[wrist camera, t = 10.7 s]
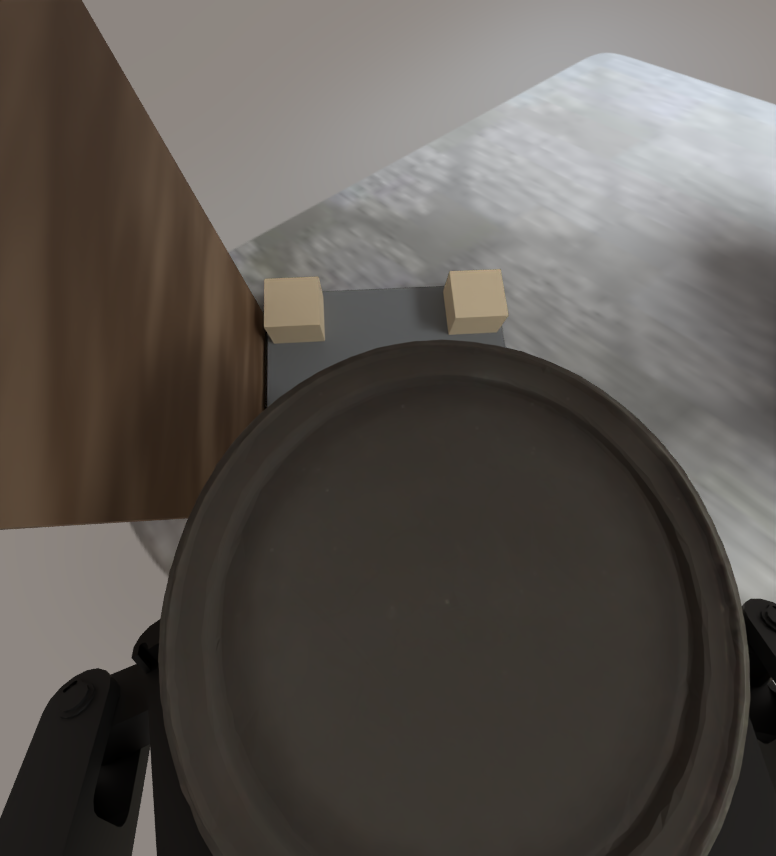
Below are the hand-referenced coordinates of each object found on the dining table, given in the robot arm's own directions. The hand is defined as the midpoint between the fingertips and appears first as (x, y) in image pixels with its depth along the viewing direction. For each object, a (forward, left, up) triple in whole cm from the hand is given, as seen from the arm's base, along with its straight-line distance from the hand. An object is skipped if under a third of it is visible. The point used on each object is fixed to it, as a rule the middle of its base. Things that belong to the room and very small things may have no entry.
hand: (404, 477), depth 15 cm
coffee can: (0, +3, -6) cm, 6 cm away
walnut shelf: (+5, -7, -11) cm, 14 cm away
